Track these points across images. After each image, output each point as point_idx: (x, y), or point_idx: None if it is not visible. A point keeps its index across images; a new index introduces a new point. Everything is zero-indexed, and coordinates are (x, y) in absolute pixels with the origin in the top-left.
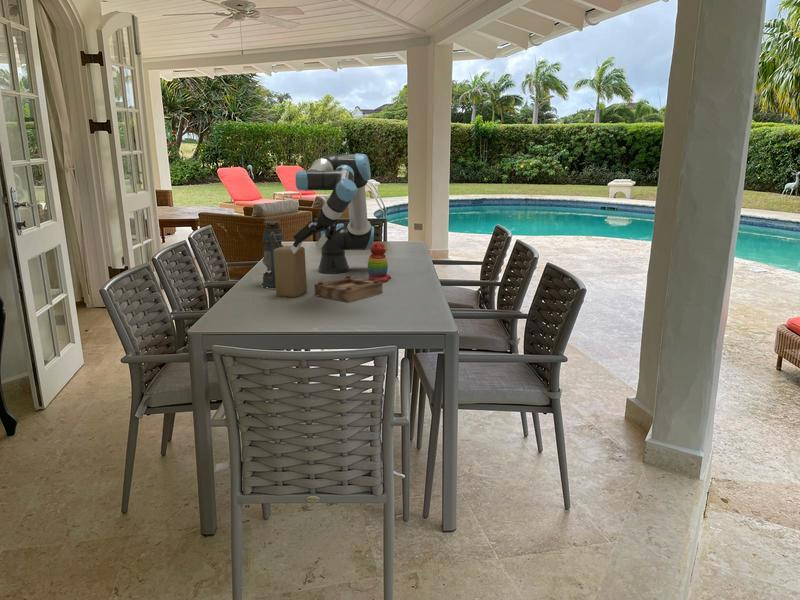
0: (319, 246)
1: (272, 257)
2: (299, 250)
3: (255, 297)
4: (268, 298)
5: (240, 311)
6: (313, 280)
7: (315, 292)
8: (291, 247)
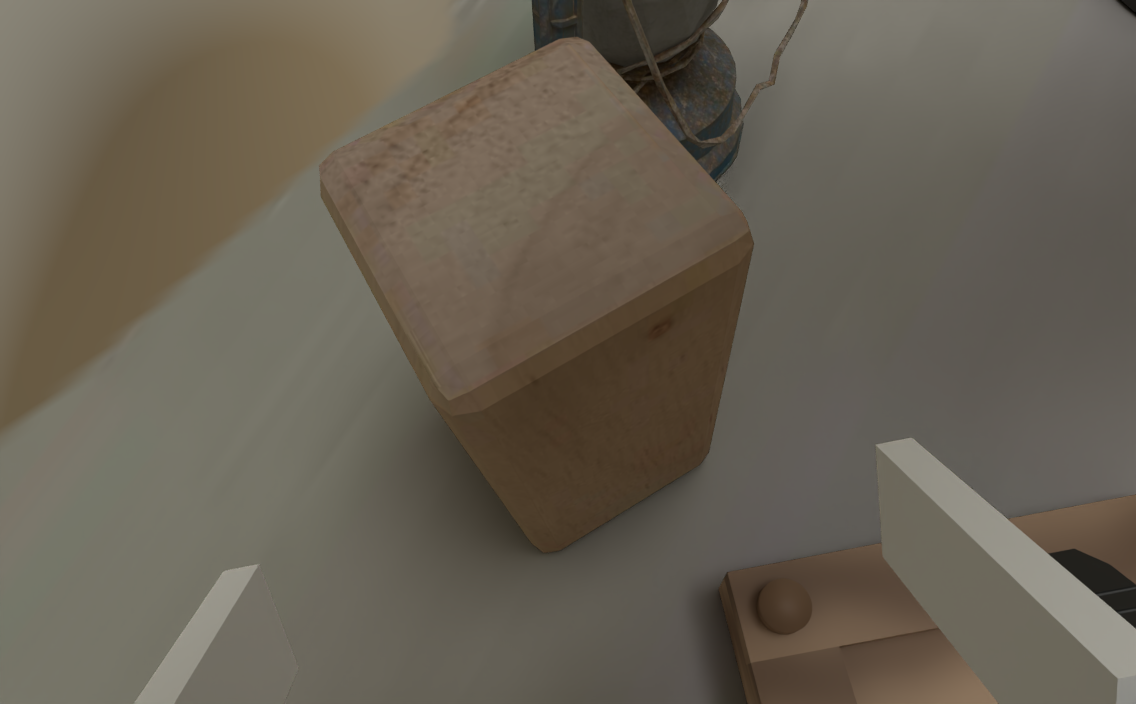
0: (901, 555)
1: (535, 23)
2: (603, 338)
3: (343, 341)
4: (385, 426)
5: (4, 656)
6: (947, 136)
7: (722, 592)
8: (211, 601)
